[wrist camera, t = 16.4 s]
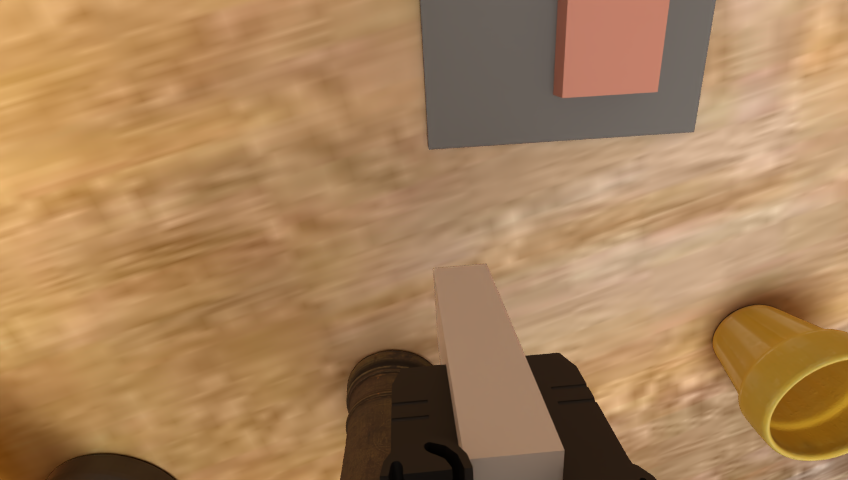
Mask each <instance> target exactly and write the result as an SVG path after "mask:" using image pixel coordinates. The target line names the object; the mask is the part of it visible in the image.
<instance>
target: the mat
mask: <svg viewBox="0 0 848 480" xmlns="http://www.w3.org/2000/svg"><path fill="white" fill-rule="evenodd" d="M715 2H716V0H670V3H669V10H668V18H667V25H666V33H665V40H664V48H663V55H662V63H661V70H660V78H659V85H658V92H650V93H634V94H619V95H603V96H588V97H572V98H561V97H558V96H555V95H553V89H554V69H555V48H556V28H557V7H558V0H420V7H421V25H422V42H423V60H424V77H425V95H426V112H427V129H428V147H429V150H430V149H445V148H460V147H475V146H491V145H506V144H521V143H536V142H551V141H566V140H581V139H596V138H611V137H626V136H641V135H656V134H671V133H686V132H694V129H695V123H696V117H697V111H698V105H699V99H700V93H701V87H702V81H703V75H704V69H705V63H706V57H707V51H708V45H709V38H710V32H711V26H712V20H713V14H714V8H715Z"/></svg>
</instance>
